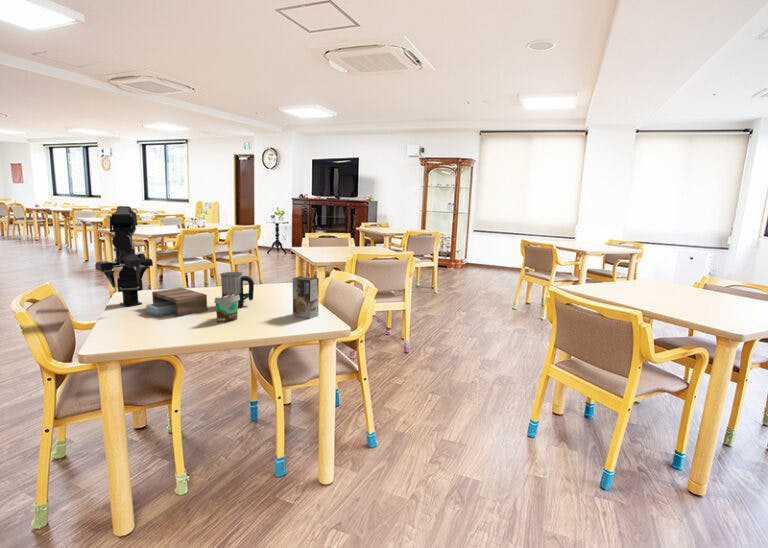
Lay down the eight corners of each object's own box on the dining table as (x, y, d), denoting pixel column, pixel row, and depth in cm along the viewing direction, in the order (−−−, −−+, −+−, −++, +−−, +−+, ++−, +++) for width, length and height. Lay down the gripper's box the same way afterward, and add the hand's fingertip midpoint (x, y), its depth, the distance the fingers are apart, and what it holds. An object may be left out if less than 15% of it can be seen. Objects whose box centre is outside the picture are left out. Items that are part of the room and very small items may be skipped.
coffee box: (319, 315, 178) (319, 277, 175) (310, 319, 173) (310, 280, 170) (301, 312, 182) (301, 275, 179) (292, 315, 176) (291, 277, 173)
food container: (229, 324, 161) (228, 299, 159) (215, 323, 162) (214, 298, 160) (246, 316, 173) (245, 292, 171) (232, 314, 174) (232, 291, 172)
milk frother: (223, 309, 181) (222, 275, 178) (215, 301, 194) (214, 269, 191) (257, 306, 189) (256, 273, 186) (247, 298, 202) (246, 267, 199)
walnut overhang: (153, 307, 180) (152, 291, 178) (181, 302, 190) (180, 287, 189) (178, 316, 168) (177, 299, 167) (207, 310, 179) (206, 294, 177)
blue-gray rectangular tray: (146, 313, 172) (146, 304, 171) (184, 305, 185) (184, 298, 184) (156, 317, 167) (156, 308, 167) (194, 309, 180) (194, 301, 179)
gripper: (106, 250, 151) (109, 292, 154) (158, 246, 166) (161, 285, 169) (93, 247, 157) (96, 288, 160) (144, 243, 172) (147, 281, 175)
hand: (126, 285), depth 166 cm, fingers open, 9 cm apart
